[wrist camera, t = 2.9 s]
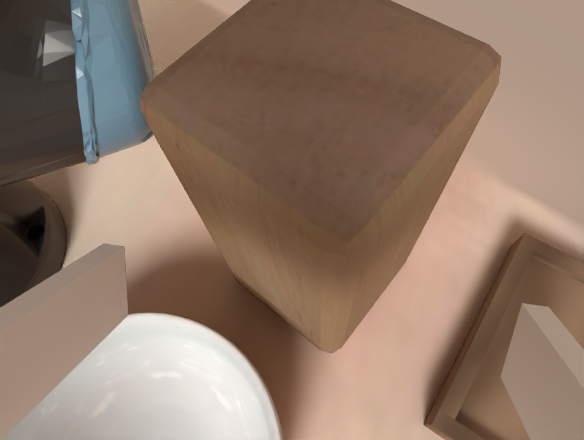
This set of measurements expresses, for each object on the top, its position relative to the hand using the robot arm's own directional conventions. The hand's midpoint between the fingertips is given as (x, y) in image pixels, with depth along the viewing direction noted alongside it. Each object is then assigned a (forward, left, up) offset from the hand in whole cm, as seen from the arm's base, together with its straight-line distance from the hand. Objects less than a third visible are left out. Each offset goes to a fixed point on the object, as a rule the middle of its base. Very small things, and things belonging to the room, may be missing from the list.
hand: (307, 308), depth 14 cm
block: (-4, +7, -17) cm, 19 cm away
